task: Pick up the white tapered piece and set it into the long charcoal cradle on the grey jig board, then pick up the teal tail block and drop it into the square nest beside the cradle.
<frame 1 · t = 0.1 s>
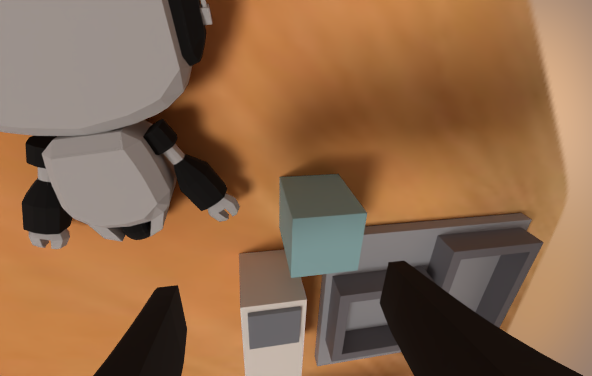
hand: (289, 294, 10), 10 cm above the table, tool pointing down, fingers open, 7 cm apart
jig: (410, 289, 27), on the table
robot toy: (111, 97, 16), on the table
tail block: (307, 201, 20), on the table
white tapered piece: (267, 297, 24), on the table
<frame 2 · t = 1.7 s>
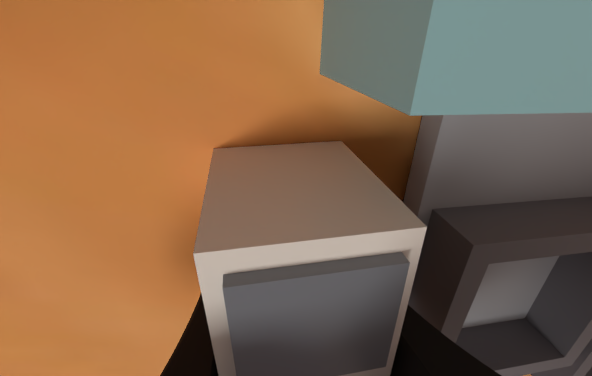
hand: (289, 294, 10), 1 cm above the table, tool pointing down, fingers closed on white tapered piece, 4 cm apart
jig: (551, 254, 14), on the table
white tapered piece: (282, 264, 12), on the table, touching gripper
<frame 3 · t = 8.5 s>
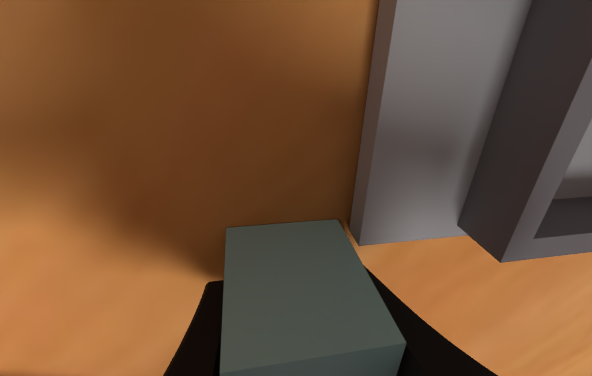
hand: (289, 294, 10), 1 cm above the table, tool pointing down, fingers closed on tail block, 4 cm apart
tail block: (283, 266, 11), on the table, touching gripper
when the fingers open (4 cm above the table, at t = 11.5 s): tail block drops 1 cm, resting on jig.
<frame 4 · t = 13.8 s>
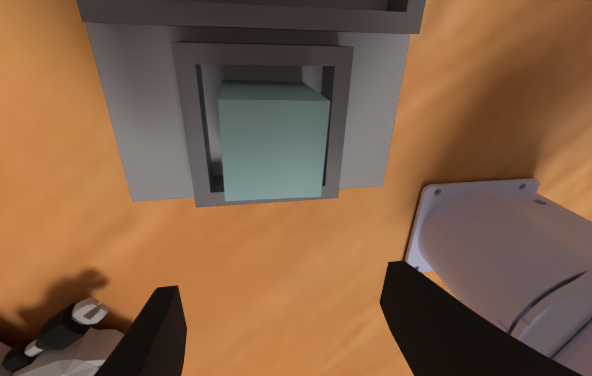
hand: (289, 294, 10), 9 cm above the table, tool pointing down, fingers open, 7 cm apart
jig: (261, 34, 15), on the table
robot toy: (38, 348, 22), on the table
tail block: (264, 120, 16), point 1 cm above the table, touching jig
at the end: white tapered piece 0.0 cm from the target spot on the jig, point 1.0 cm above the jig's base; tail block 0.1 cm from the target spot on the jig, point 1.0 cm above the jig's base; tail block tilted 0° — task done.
